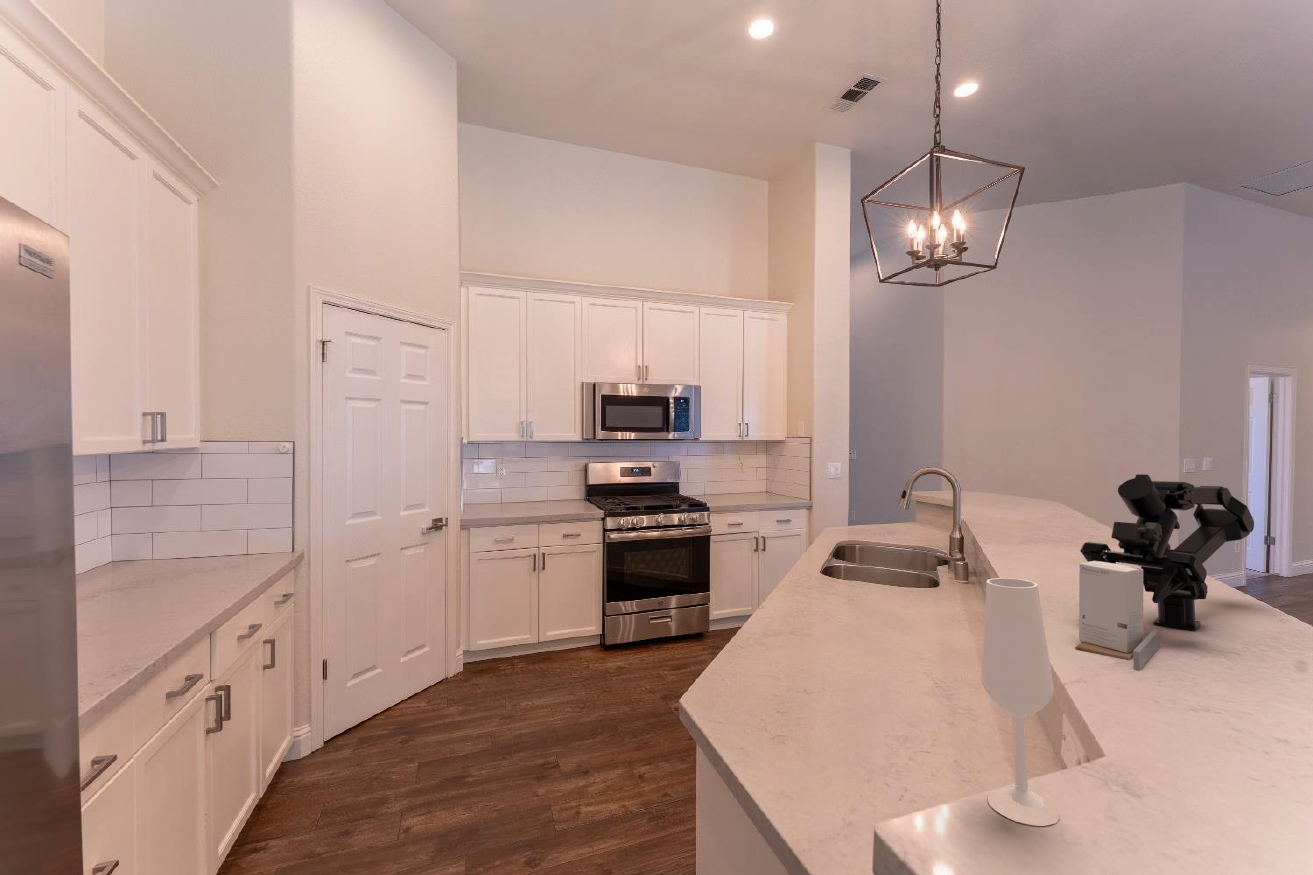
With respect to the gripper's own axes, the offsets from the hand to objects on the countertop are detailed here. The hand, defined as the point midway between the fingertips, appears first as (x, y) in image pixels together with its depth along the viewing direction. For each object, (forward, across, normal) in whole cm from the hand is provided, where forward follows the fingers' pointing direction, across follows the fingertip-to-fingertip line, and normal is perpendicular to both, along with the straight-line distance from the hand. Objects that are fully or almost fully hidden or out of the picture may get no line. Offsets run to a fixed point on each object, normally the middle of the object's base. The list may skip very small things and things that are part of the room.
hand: (1125, 596), depth 112 cm
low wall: (+11, +6, +1) cm, 12 cm away
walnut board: (+10, 0, +2) cm, 10 cm away
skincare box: (+10, 0, +2) cm, 10 cm away
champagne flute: (+53, +21, -42) cm, 71 cm away
